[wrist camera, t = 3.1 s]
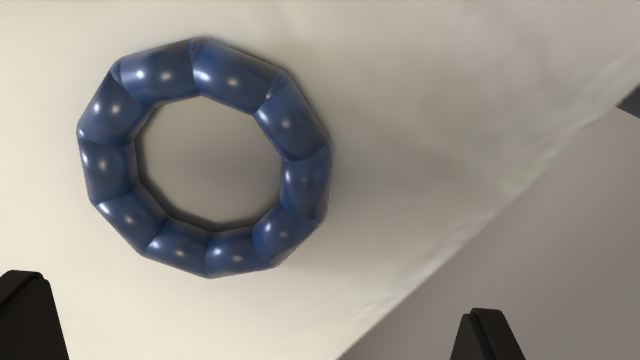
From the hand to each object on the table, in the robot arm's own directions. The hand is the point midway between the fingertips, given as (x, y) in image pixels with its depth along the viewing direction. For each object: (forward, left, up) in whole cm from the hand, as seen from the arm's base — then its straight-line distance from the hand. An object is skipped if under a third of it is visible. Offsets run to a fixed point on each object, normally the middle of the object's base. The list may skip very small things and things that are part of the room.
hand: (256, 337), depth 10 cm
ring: (+4, 0, -8) cm, 9 cm away
